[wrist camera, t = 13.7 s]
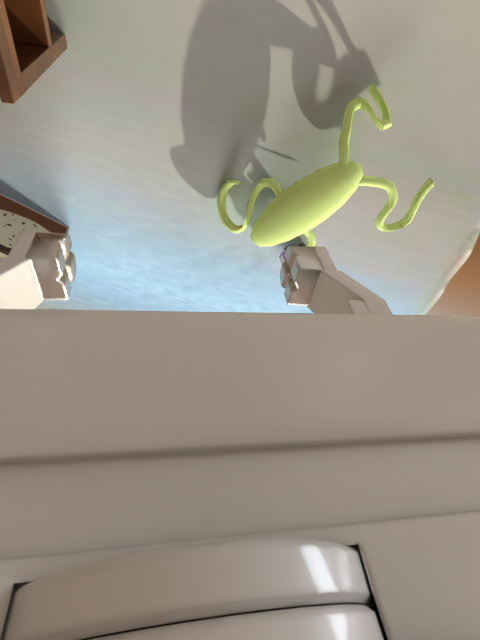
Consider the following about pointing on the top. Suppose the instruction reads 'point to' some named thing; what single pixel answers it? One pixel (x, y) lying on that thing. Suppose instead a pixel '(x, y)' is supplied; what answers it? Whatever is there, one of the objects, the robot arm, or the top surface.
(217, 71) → the top surface
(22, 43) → the stand
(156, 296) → the top surface
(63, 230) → the food container
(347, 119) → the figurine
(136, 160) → the top surface
